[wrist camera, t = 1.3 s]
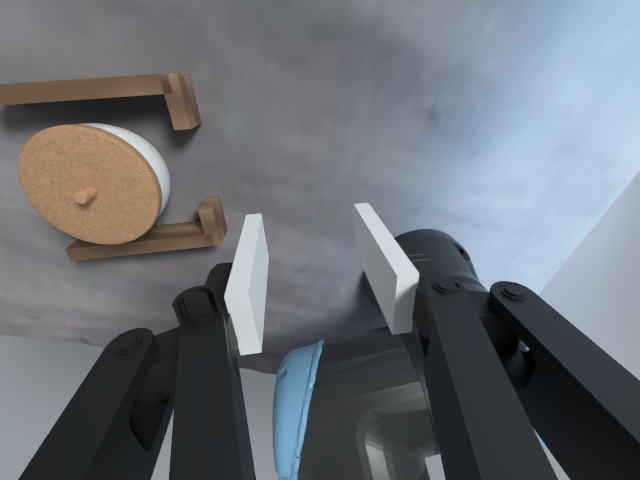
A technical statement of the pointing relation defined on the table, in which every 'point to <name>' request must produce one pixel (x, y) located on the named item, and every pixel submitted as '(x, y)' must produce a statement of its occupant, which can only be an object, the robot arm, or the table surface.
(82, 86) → the cradle
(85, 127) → the lidded jar
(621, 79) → the table surface
